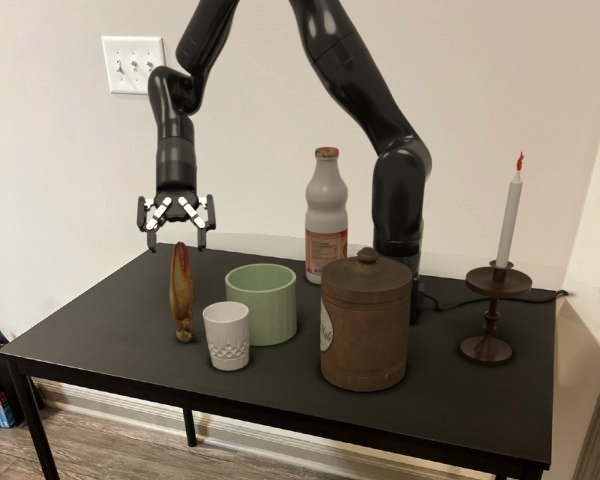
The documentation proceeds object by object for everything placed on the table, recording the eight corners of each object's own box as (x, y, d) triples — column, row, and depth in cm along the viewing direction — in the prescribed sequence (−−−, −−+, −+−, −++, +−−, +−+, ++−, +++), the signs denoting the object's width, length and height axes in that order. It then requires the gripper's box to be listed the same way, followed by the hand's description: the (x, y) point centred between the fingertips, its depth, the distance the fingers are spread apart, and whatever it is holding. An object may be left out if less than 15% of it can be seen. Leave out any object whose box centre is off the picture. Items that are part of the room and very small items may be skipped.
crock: (300, 315, 124) (300, 264, 118) (292, 347, 113) (290, 293, 107) (237, 312, 125) (233, 262, 119) (223, 344, 115) (217, 290, 108)
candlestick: (508, 374, 104) (553, 162, 84) (446, 359, 109) (476, 154, 89) (522, 346, 112) (566, 146, 92) (464, 333, 117) (495, 139, 97)
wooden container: (336, 342, 114) (338, 228, 102) (413, 356, 110) (425, 238, 97) (308, 383, 103) (306, 260, 91) (393, 400, 99) (404, 273, 86)
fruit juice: (298, 274, 141) (296, 147, 125) (334, 266, 144) (335, 142, 128) (317, 289, 134) (317, 156, 118) (354, 281, 138) (358, 151, 122)
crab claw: (186, 354, 112) (171, 250, 100) (163, 349, 114) (145, 246, 102) (205, 337, 117) (193, 236, 106) (182, 332, 119) (168, 233, 107)
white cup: (234, 377, 105) (230, 326, 99) (199, 365, 109) (193, 315, 103) (260, 357, 111) (257, 307, 105) (226, 346, 114) (221, 297, 108)
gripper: (133, 159, 110) (132, 243, 107) (212, 157, 110) (213, 240, 107) (142, 181, 117) (142, 260, 114) (216, 179, 118) (218, 258, 115)
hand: (177, 250), depth 111 cm, fingers open, 8 cm apart
